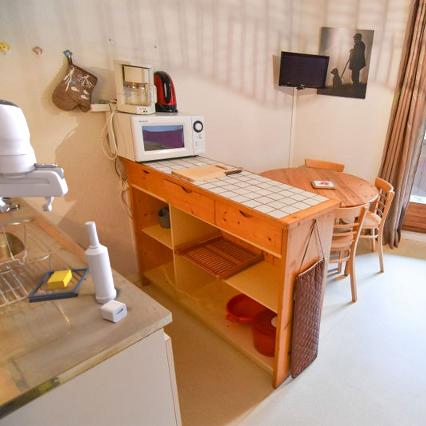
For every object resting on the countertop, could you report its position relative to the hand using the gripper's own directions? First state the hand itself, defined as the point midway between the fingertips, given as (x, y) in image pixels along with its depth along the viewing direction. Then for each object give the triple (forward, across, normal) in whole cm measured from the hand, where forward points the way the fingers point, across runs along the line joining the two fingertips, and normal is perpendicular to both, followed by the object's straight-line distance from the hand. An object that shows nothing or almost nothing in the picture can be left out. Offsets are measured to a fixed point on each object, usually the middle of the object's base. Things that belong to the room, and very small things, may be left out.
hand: (27, 211), depth 89 cm
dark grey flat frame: (+25, -5, +2) cm, 25 cm away
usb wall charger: (+25, -22, +19) cm, 38 cm away
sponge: (+24, -5, +2) cm, 25 cm away
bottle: (+24, -19, +11) cm, 33 cm away
